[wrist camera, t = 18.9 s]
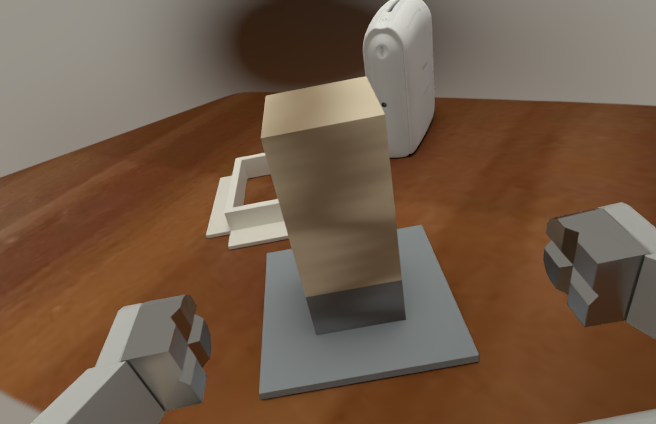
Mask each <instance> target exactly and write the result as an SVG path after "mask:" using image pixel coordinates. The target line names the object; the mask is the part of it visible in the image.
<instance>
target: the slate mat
mask: <svg viewBox="0 0 656 424" xmlns="http://www.w3.org/2000/svg"><path fill="white" fill-rule="evenodd" d="M397 236H398V246H399V255H400V265H401V275H402V285H403V294H404V304H405V314H406V320H401V321H396V322H390V323H384V324H379V325H373V326H367V327H362V328H356V329H350V330H345V331H339V332H333V333H328V334H322V335H316V333H315V329H314V325H313V322H312V318H311V315H310V311H309V308H308V304H307V301H306V297H305V294H304V290H303V286H302V283H301V279H300V276H299V272H298V269H297V265H296V262H295V258H294V254H293V251H292V249H288V250H283V251H277V252H272V253H267V264H266V282H265V300H264V317H263V335H262V352H261V370H260V387H259V395H260V397H261V399H268V398H273V397H279V396H285V395H291V394H296V393H302V392H308V391H313V390H319V389H325V388H331V387H336V386H342V385H348V384H353V383H359V382H365V381H371V380H376V379H382V378H388V377H393V376H399V375H405V374H411V373H416V372H422V371H428V370H433V369H439V368H445V367H451V366H456V365H462V364H468V363H473V362H479V354H478V351H477V349H476V347H475V345H474V342H473V340H472V338H471V336H470V333H469V331H468V329H467V326H466V324H465V322H464V320H463V317H462V315H461V313H460V311H459V308H458V306H457V304H456V302H455V299H454V297H453V295H452V292H451V290H450V288H449V286H448V283H447V281H446V279H445V277H444V274H443V272H442V270H441V268H440V265H439V263H438V261H437V258H436V256H435V254H434V252H433V249H432V247H431V245H430V243H429V240H428V238H427V236H426V234H425V231H424V229H423V227H422V225H418V226H412V227H407V228H401V229H397Z"/></svg>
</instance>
